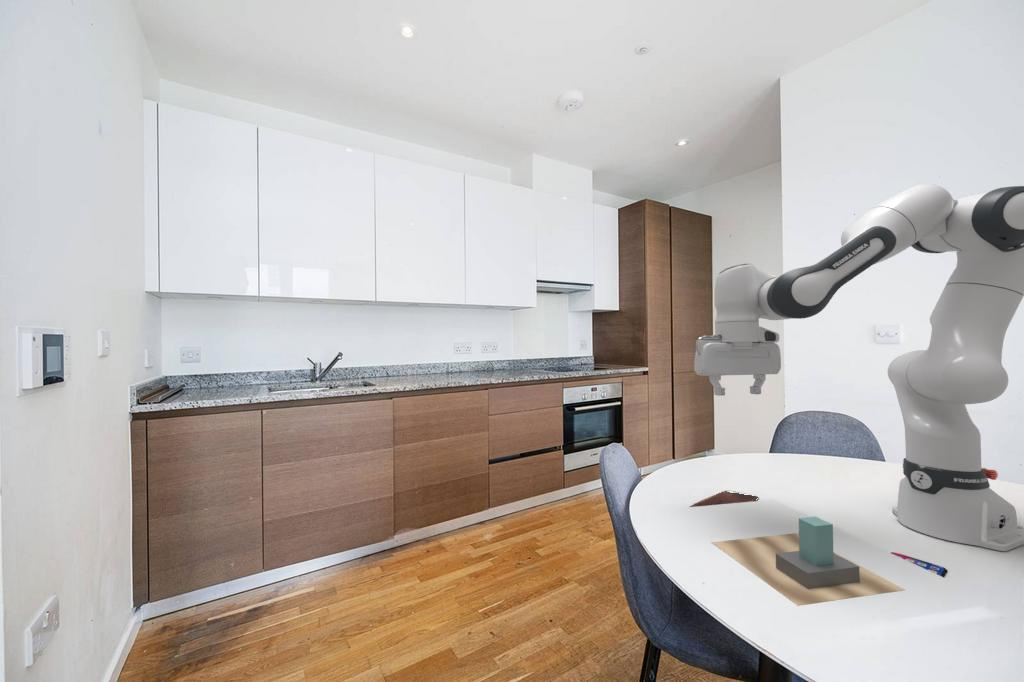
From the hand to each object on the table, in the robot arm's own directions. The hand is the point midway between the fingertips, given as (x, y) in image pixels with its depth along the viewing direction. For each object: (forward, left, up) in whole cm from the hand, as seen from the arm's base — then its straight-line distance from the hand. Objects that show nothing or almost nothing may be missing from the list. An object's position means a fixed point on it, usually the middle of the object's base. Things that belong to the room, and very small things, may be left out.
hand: (737, 394), depth 89 cm
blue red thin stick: (-13, +23, -30) cm, 40 cm away
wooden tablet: (-2, -8, -30) cm, 31 cm away
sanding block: (+5, +23, -28) cm, 36 cm away
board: (+5, +19, -29) cm, 35 cm away
